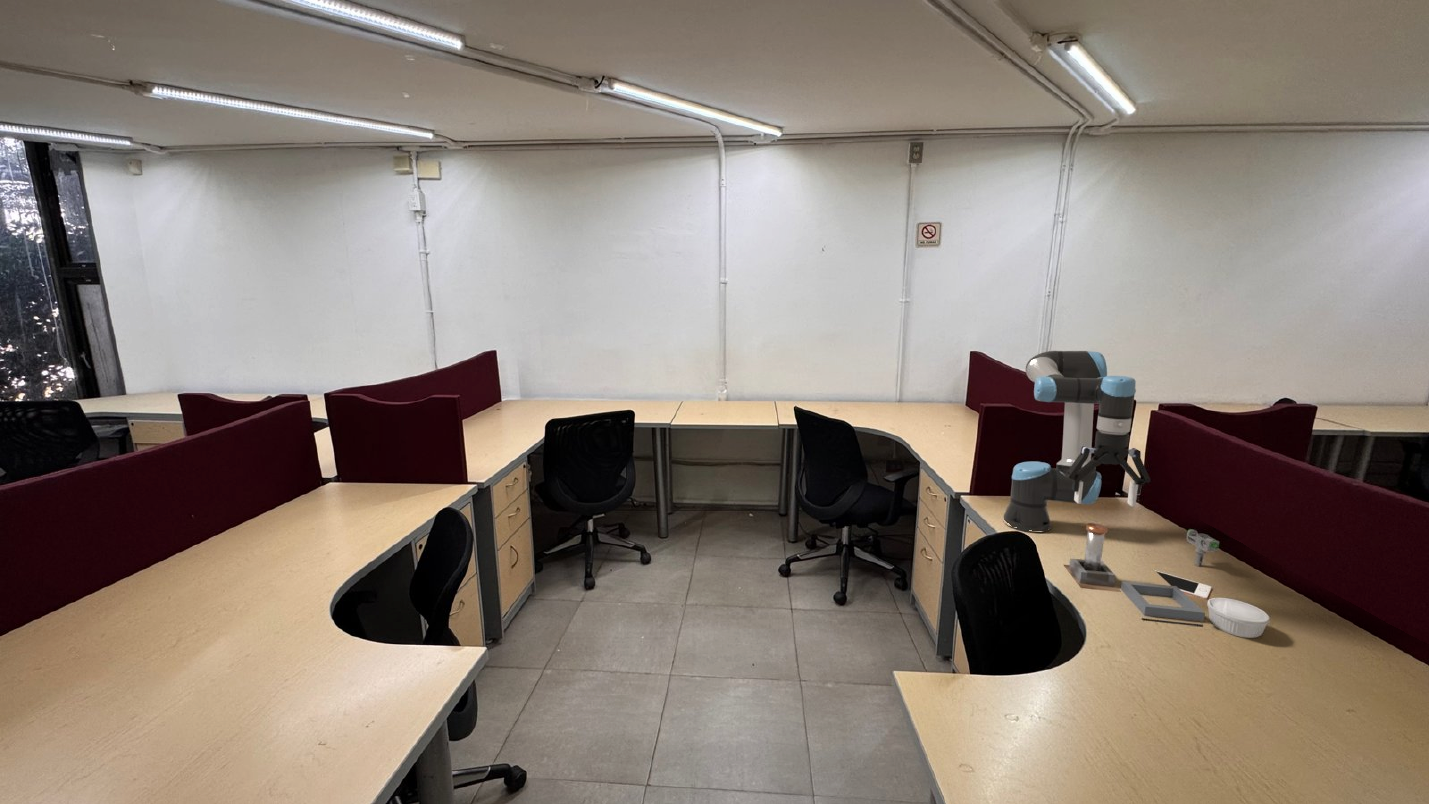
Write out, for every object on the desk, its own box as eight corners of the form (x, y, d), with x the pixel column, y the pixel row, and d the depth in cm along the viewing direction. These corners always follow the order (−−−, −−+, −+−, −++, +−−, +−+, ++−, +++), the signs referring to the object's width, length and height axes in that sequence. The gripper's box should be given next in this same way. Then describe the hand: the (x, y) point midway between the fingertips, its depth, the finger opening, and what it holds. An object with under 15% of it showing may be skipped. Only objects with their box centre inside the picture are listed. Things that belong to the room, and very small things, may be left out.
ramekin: (1194, 613, 144) (1197, 595, 143) (1244, 617, 141) (1247, 599, 140) (1224, 638, 133) (1227, 619, 132) (1278, 643, 131) (1282, 624, 130)
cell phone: (1206, 601, 150) (1206, 598, 149) (1126, 577, 163) (1127, 574, 163) (1211, 589, 155) (1211, 586, 155) (1134, 567, 169) (1134, 564, 168)
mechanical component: (1190, 557, 173) (1195, 528, 171) (1216, 573, 163) (1222, 543, 161) (1180, 557, 173) (1185, 528, 171) (1206, 573, 163) (1211, 542, 161)
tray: (1120, 594, 153) (1122, 581, 152) (1174, 599, 150) (1176, 586, 149) (1143, 620, 141) (1145, 606, 140) (1202, 626, 138) (1205, 612, 137)
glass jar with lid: (1077, 572, 162) (1083, 522, 159) (1096, 574, 161) (1102, 524, 158) (1084, 580, 158) (1090, 529, 155) (1104, 582, 156) (1110, 531, 153)
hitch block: (1062, 569, 168) (1064, 554, 167) (1099, 572, 165) (1101, 557, 164) (1080, 592, 154) (1082, 576, 153) (1120, 596, 152) (1122, 580, 151)
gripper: (1068, 433, 150) (1060, 505, 154) (1172, 436, 144) (1161, 511, 148) (1057, 427, 157) (1050, 496, 161) (1156, 429, 152) (1147, 501, 156)
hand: (1104, 503), depth 155 cm, fingers open, 13 cm apart
